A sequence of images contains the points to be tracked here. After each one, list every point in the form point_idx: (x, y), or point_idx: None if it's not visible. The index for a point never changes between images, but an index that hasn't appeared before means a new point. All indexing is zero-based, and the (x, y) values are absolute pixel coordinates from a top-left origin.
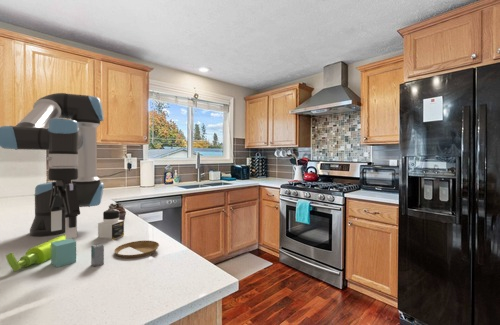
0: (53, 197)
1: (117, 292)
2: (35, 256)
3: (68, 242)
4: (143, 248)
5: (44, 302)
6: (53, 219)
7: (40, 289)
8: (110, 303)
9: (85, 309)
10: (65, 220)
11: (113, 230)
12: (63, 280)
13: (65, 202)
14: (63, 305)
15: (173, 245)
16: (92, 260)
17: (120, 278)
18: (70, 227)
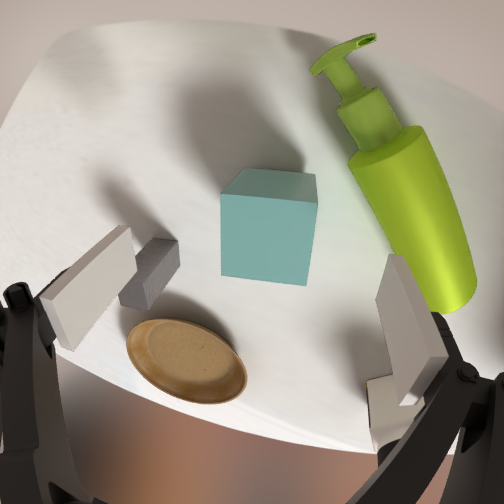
0: (470, 494)
1: (27, 211)
2: (356, 137)
3: (236, 251)
4: (210, 378)
5: (66, 94)
6: (407, 314)
7: (135, 93)
8: (8, 186)
9: (11, 150)
10: (66, 285)
11: (368, 411)
12: (146, 153)
13: (4, 398)
14: (36, 123)
15: (178, 404)
16: (157, 253)
17: (70, 246)
18: (67, 268)
